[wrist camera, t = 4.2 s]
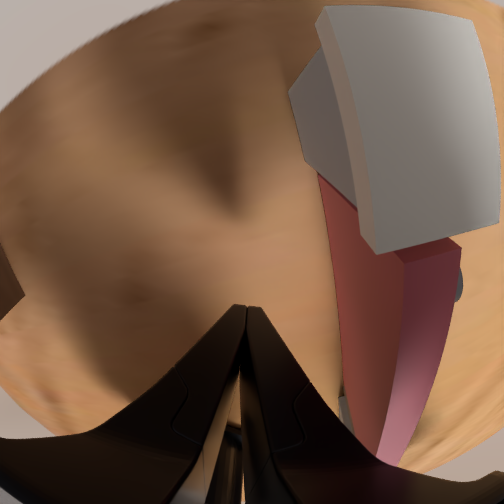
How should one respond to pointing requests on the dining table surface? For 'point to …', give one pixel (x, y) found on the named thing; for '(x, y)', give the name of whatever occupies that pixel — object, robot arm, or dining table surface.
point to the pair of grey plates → (401, 125)
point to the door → (389, 325)
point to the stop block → (8, 286)
